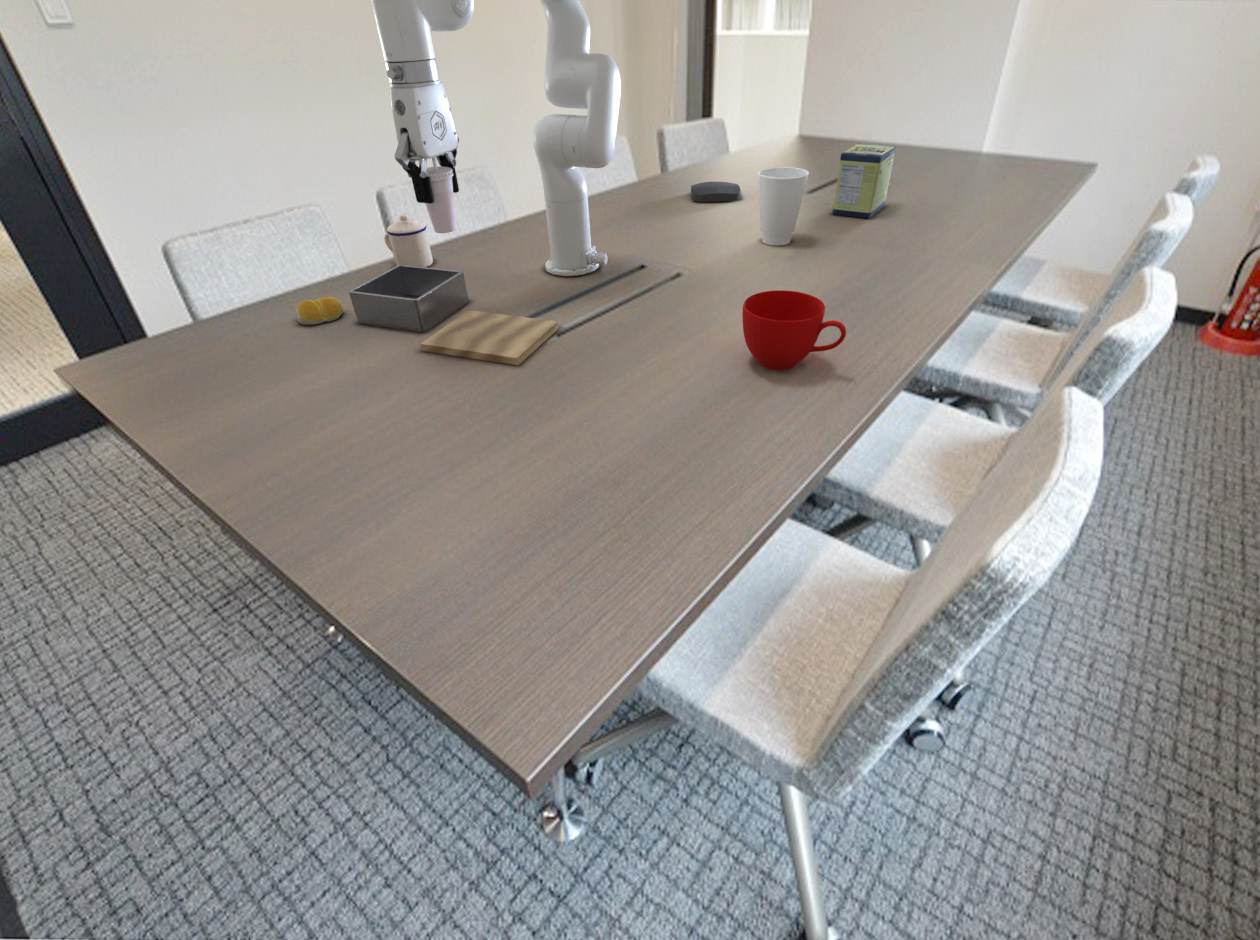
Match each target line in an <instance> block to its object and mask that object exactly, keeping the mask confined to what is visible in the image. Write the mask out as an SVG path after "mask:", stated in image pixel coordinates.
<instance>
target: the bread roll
mask: <svg viewBox="0 0 1260 940" xmlns="http://www.w3.org/2000/svg"><path fill="white" fill-rule="evenodd" d="M294 311H295V313H296V319H297V322H298V323H299V324H301V325H305V326H310V325H312V326H313V325H318V324H323V323H325V322H333V321H335V320H338V319H339V318H340V316H342V314H343V313H344V307H343V304H342V303H341V302H340V300H338V299H337V298H335V297H332V296H326V297H320V298H316V299H315V300H311V299H307V300H301V301H300V302H298V303H297V304H296V307H295V310H294Z"/></svg>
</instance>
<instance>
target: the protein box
mask: <svg viewBox="0 0 1260 940" xmlns="http://www.w3.org/2000/svg"><path fill="white" fill-rule="evenodd" d="M895 152H896V145H884V144H871V143H856V144H854V146H852V147H849V149H847V150H845V151H843V152H841V153H840V158H839V165H838V166H839V167H838V173H837V180H836V187H835V193H834V202H833V206H832V207H833V208H832V215H834V216H835V215H836V216H844V217H851V218H852V217H853V218H861V219H869V220H870V219H871V218H872V217H873V216H874V215H875V214H876V213H877V212H879V211H880V210H882V208H883V207H885V204H886V199H887V195H888V189H889V184H890V179H891V175H892V174H891V173H892V168H893V163H894V158H895Z"/></svg>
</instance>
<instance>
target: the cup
mask: <svg viewBox="0 0 1260 940" xmlns="http://www.w3.org/2000/svg"><path fill="white" fill-rule="evenodd" d="M809 174H810V172H809V171H808V170H807V169H804V168H800V167H791V166H773V167H767V168H763V169H760V170H758V171H757V182H758V185H757V186H758V199H759V200H758V202H759V222H760V232H761V240H762V243H764V244H766V245H769V246H785V245H788V244H790V243H791V240H792V236H793V233H794V232H795V228H796V224H797V221H798V217H799V212H800V209H801V205H802V200H803V196H804V193H805V188H806V184H807V182H808V181H807V180H808V177H809V176H810V175H809Z"/></svg>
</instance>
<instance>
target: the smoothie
mask: <svg viewBox="0 0 1260 940" xmlns="http://www.w3.org/2000/svg"><path fill="white" fill-rule="evenodd" d="M431 162H432V166H431V167H429V166H428V167H426V177H429V178H430V182H431V187H432V192H433V196H434V203H431V204H430V203H424V204H425V207H426V210H427V213H428V216H429V219H430V222H431V224H432V227H433V230H434V233H436V234H449V233H452V232H455V231H456V230H457V223H456V222H457V221H456V211H455V210H456V209H455V198H454V193H453V183H452V176H453V175H454V174H453V171H452V169H451V168H449V167H441V166H438V164H437V159H436V157H434V158H431Z"/></svg>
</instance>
